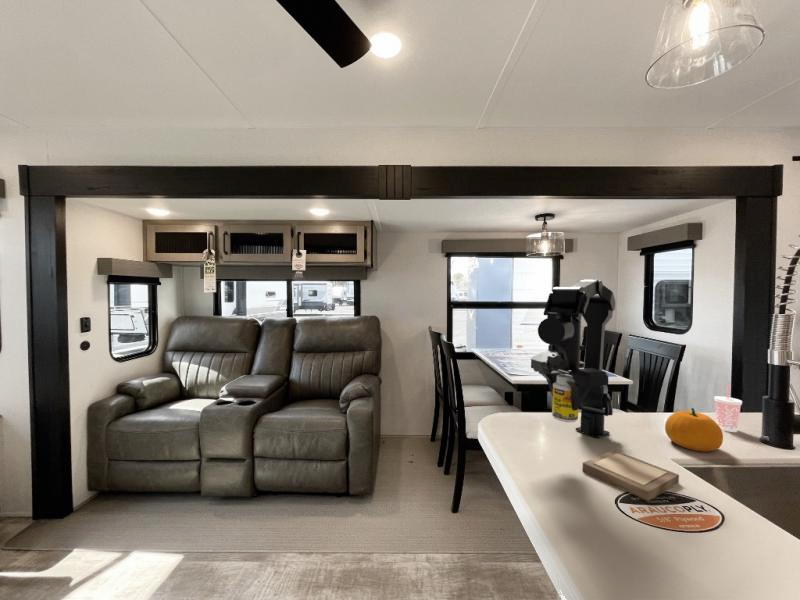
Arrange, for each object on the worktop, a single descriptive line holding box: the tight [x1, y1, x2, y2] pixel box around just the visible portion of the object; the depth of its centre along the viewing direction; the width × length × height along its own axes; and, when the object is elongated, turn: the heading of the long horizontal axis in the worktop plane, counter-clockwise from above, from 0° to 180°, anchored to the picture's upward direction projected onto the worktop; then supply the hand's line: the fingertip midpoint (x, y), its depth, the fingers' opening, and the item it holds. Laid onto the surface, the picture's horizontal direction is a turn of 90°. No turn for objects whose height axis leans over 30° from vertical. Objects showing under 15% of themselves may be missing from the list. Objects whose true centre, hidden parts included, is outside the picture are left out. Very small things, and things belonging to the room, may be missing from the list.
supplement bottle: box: [551, 374, 579, 423], centre depth 82 cm, size 6×6×10 cm
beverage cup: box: [713, 381, 743, 433], centre depth 104 cm, size 6×6×14 cm
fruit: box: [664, 407, 724, 452], centre depth 91 cm, size 12×12×10 cm
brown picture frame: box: [582, 449, 680, 502], centre depth 75 cm, size 13×13×2 cm
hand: (565, 406), depth 82 cm, fingers closed on supplement bottle, 5 cm apart
